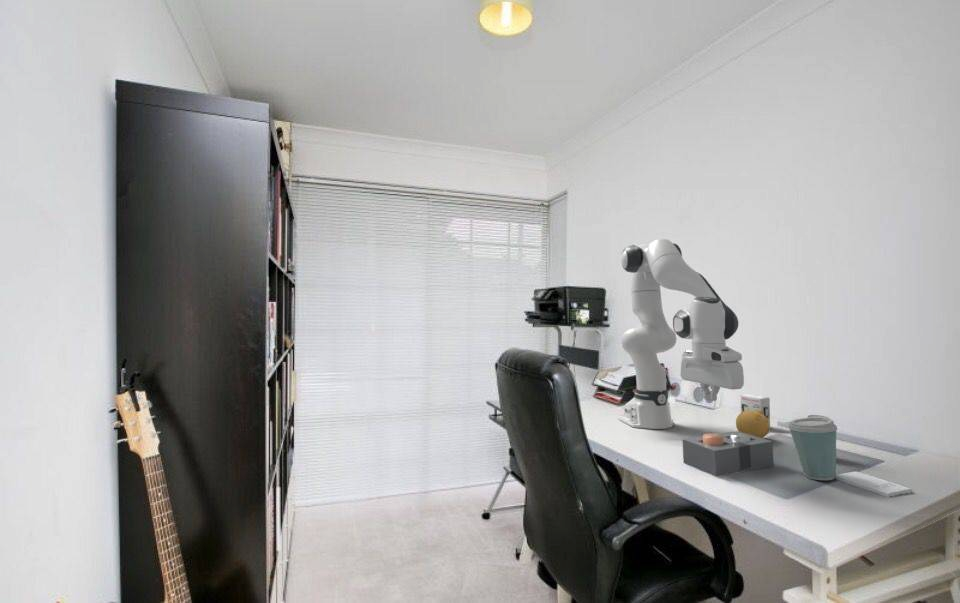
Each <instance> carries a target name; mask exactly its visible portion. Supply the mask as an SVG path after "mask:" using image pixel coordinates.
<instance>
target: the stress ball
mask: <svg viewBox="0 0 960 603" xmlns="http://www.w3.org/2000/svg"><path fill="white" fill-rule="evenodd" d="M735 427H736V428H737V431H738V432H742V433H745V434H749V435H752V436H756V437H759V438H763V439H764V438H765V437H766V436H768V434H769V432H770V429H769V422H768V419H767V418H766V417H765V416H764V415H763V414H762V413H761V412H759V411H755V410H746V411H743V412H742V413H741V412H740V413H739V414H738V415H737V417H736V420H735Z"/></svg>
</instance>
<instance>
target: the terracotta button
mask: <svg viewBox="0 0 960 603" xmlns="http://www.w3.org/2000/svg"><path fill="white" fill-rule="evenodd" d="M718 434H719V433H704V434H702V436H703V443H704V444H707V445H710V446H713V447H714V446H720V445H723V436H721V435H718Z"/></svg>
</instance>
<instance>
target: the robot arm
mask: <svg viewBox="0 0 960 603" xmlns="http://www.w3.org/2000/svg"><path fill="white" fill-rule="evenodd" d="M620 261H621V266H622V269H623V270H624V271H625V272H627V273H631V277H630V278H631V279H630V293H631V294H630V296H631V306H632V307H631V309H632V313H633V314H634V315H635V316H636V317H638V319H639V322H640V325H641V326H636V327H633V328H630V329H627V330H626V331H624V333H623V335H622V336H621V345H622V348H623V351H625V352H626V353H627V354H628V355H629V356H630V358H631V360H632V362H633V365H634V370H635V380H636V387H635V389H634V388H633V389H632V393H634V394H633V395H634V396H633V398H631V399H630V400H629V401H628V402H627V403H625V404H624V408H623V414H622V415H619V416H617V419H618V420H619V421H621V422H623V423H625V424H626V425H628V426H630V427H632V428H637V429H638V428H639V429H650V430H662V429H670V428H672V427H673V424H674V419H672V413H671V407H670V402H669V401H668V399H669V391H668V389H667V374H666V373H667V371H666V368H665V367H664V366H663V365H662V364H661V363H660V362H659V358H658V355H657V354H660V353H665V352H667V351H669V350H671V349H673V348H674V347H675V345H676V344H677V336H678V337H679V338H680V339H684V340H691V350H690V349H687V350H685V351H684V352H683V353H682V356H681V357H682V358H681V362H680V373H679V374H680V378H681V379H682V380H684V381H687V382H693V383H696V384H699V385H700V389H701V390H702V392H703V396H704V397H703V398H704V400H708V401H711V402H712V401H713V402H715V401H717V399H718V398H717V397H718V394H719V392H720V390H721V388H723V389H728V390H733V391H734V390H741V389H742V388H743V387H744V384H745V378H744V377H745V376H744V375H745V374H744V368H743V365H742V363H741V361H742V353H741V352H739V351H738V350H737V351H736V350H734V349H732V348H731V347H729V346H727V345H726V340H729V339H731V338H732V337H733V335H735V333H736V332H737V331H738V328H739V319H738V317H737V315H736V313H735V312H734V311H733V309H731V307H729V306H728V305H727V304H726V303H725V302H724V301H723V300H722V298H721V297H720V296H719V294H718V293H717V291H716V290H715V289H714V287H713V286H712V285H711V284H710V282H709V281H708V280H707V279H706V278H705V277H704V276H703V275H702V274H701V273H699V272H698V271H697V270H694V269H693V268H692V267H691V266H689V264H688V263H687V262H686V260H684V258H683V253H682V249H681V247H680V246H679V245H678V244H677V243H674V242H672V241H671V240H669V239H668V238H658V239H654V240H653V241H652V242H649V243H643V244H638V245H635V244H632V245H629V246H626V247H625V248H624V249H623V251H622V252H621V257H620ZM661 287H662V288H664V289H668V290H672V291H678V292H682V293H686V294H689V295H691V296H693V297H694V298H693V299H692V300H691V304H690V305H688V306H687V307H685V308H683V309H679V310H678V311H677V312H676V313H675V314H674V316H673V318H672V327H673V328H671V327H670V326H669V324H668V322H667V319H666V317H665V313H664V310H663V304H662V293H661V291H662V290H661ZM676 335H677V336H676Z"/></svg>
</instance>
